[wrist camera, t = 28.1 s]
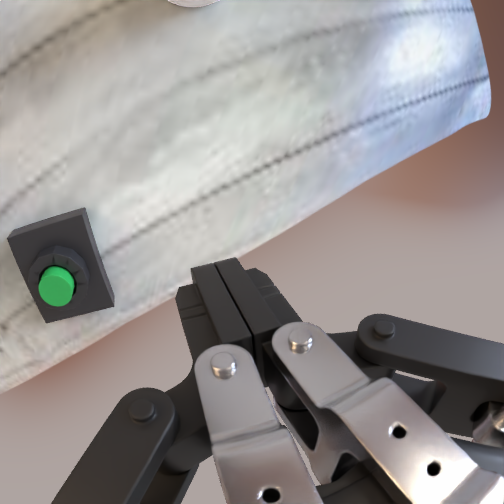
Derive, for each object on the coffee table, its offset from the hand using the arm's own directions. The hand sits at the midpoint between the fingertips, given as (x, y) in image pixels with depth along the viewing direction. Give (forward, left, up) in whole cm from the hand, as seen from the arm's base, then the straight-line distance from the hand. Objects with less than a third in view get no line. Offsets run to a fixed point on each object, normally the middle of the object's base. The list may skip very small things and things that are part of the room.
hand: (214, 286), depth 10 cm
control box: (+8, -13, -23) cm, 27 cm away
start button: (+8, -13, -19) cm, 24 cm away
